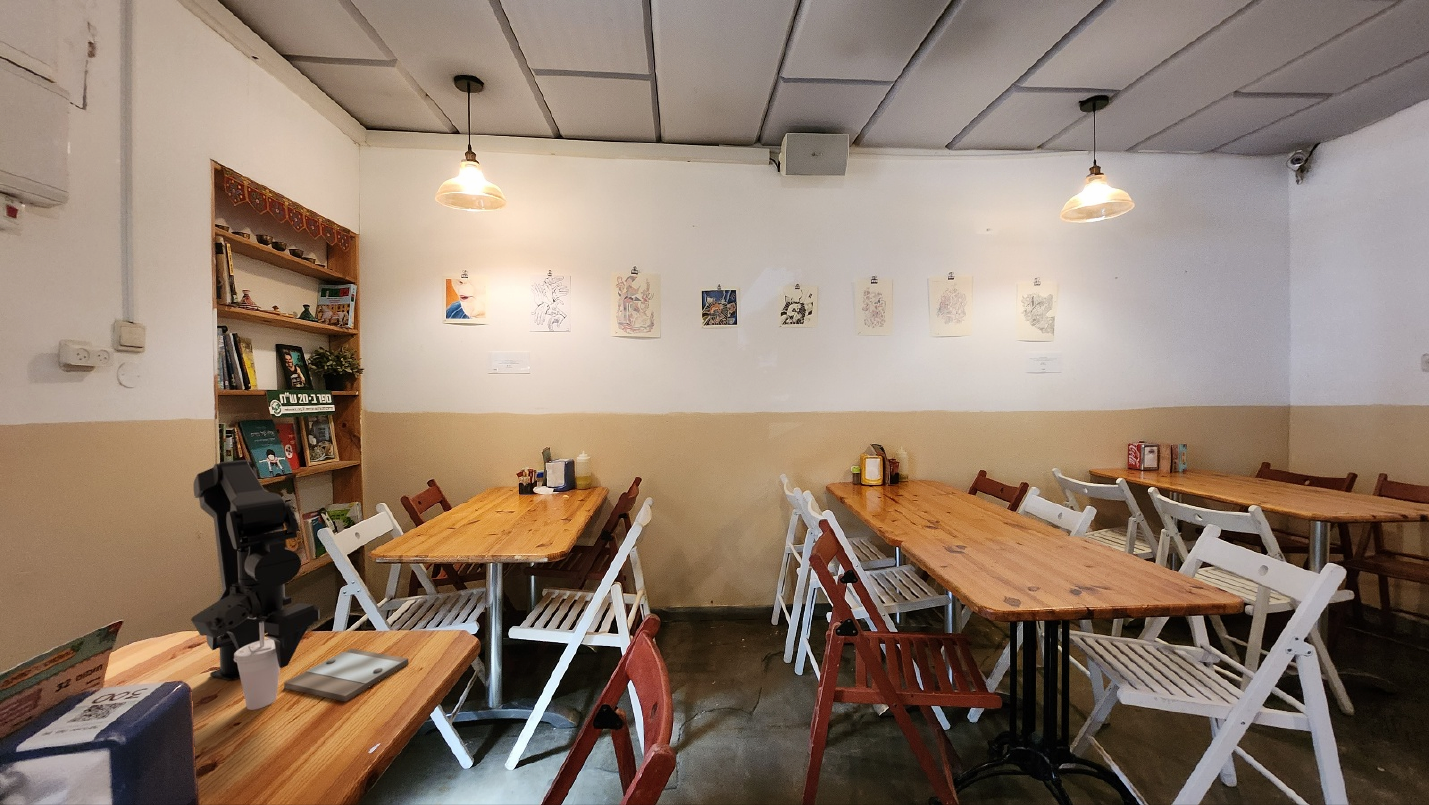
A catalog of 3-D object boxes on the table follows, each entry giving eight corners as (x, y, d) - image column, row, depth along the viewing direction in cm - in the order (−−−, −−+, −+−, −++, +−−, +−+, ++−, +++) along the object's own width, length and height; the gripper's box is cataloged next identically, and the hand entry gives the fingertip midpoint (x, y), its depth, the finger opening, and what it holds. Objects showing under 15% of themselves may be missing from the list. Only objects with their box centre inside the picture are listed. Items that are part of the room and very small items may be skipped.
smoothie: (255, 717, 79) (252, 632, 79) (224, 712, 80) (221, 629, 80) (296, 693, 85) (293, 614, 85) (267, 689, 86) (264, 612, 86)
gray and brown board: (284, 688, 87) (284, 680, 87) (351, 653, 98) (351, 647, 98) (345, 701, 82) (345, 694, 82) (408, 663, 94) (408, 657, 94)
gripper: (162, 586, 78) (166, 682, 78) (241, 598, 72) (245, 700, 73) (246, 562, 88) (249, 647, 89) (320, 571, 83) (323, 660, 83)
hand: (265, 663), depth 83 cm, fingers open, 9 cm apart
